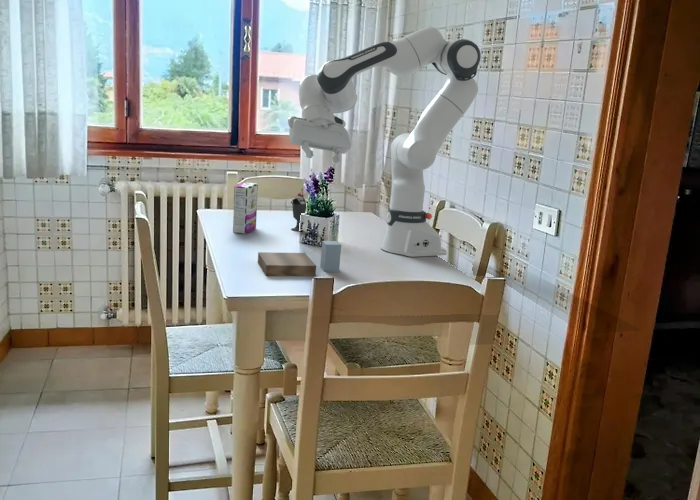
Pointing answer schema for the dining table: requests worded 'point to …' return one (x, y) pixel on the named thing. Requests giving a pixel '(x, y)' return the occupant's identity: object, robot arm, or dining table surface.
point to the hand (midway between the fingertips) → (323, 159)
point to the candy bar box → (245, 207)
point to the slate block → (330, 255)
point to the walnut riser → (286, 264)
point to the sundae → (298, 208)
